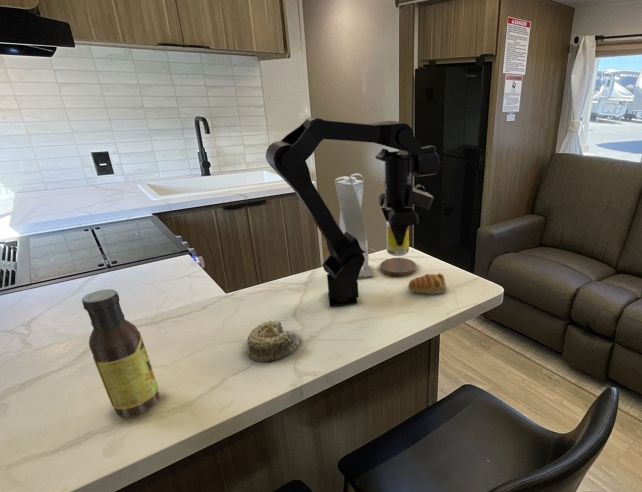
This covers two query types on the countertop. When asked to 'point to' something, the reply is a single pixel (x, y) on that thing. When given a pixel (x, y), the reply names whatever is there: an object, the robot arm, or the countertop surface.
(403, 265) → the brown round coaster
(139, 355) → the sauce bottle
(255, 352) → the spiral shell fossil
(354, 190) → the skyscraper
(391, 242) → the supplement bottle
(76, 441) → the countertop surface
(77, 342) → the countertop surface
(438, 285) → the pastry
